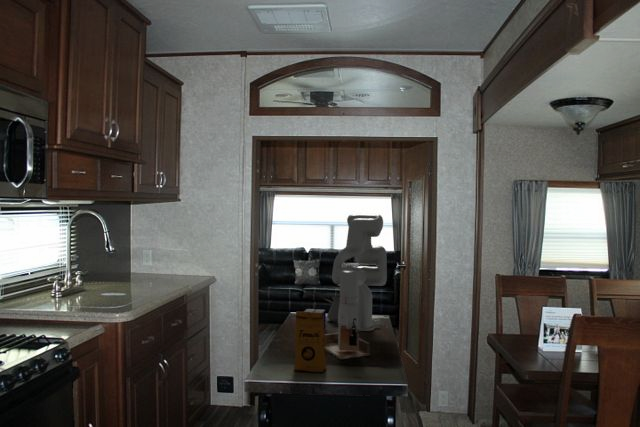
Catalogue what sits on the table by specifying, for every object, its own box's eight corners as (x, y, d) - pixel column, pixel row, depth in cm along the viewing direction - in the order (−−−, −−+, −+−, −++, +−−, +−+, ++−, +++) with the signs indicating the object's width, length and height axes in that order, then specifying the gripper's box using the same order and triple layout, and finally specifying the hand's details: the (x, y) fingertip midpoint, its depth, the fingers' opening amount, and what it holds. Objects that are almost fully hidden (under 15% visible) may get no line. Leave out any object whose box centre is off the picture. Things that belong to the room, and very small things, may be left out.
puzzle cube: (321, 334, 231) (322, 314, 231) (301, 333, 233) (301, 312, 233) (325, 329, 241) (325, 309, 241) (306, 328, 243) (306, 308, 243)
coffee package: (323, 375, 175) (324, 315, 174) (290, 372, 178) (291, 313, 177) (329, 366, 184) (329, 309, 184) (298, 364, 187) (298, 308, 187)
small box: (339, 351, 197) (339, 325, 196) (337, 347, 202) (338, 322, 202) (358, 350, 197) (359, 325, 197) (356, 346, 203) (356, 322, 203)
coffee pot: (350, 319, 263) (350, 292, 262) (346, 324, 251) (346, 295, 251) (312, 316, 268) (312, 290, 268) (307, 321, 257) (307, 293, 256)
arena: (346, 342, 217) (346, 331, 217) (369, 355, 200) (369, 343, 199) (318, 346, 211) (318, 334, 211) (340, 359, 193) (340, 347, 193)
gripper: (331, 297, 206) (330, 338, 206) (351, 304, 190) (350, 349, 190) (346, 295, 209) (346, 336, 209) (367, 303, 193) (367, 347, 194)
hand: (348, 342), depth 200 cm, fingers closed on small box, 7 cm apart
